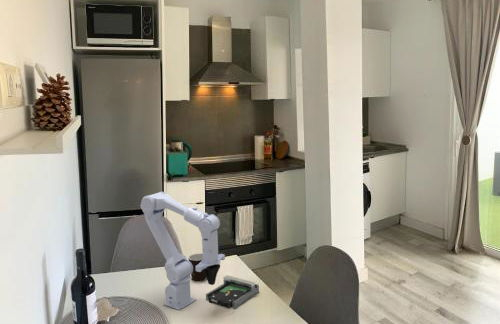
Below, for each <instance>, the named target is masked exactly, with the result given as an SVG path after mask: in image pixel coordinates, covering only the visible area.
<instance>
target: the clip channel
mask: <svg viewBox="0 0 500 324" xmlns="http://www.w3.org/2000/svg"><path fill="white" fill-rule="evenodd" d="M222 279H223V284H221V285H219V286H216V288H214V289H212V290H210V291H209V292H207V293H206V294H205V300H206V301H209V297H210V296H211V295H213V294H214V293H216V292H218V291H219V290H221V289H223V288H224V287H226V286H228V285H230V284H233V285H237V286H243V287H246V288H249V290H250V291H249V292H247V293H245V294H244V295H242V296H241V297H239V298H238V299H236V300H235V301H233V302H232V304H233V307H232V309H234V310H236V309H237V308H238V307H240V306H241V305H243V304H244V303H246V302H247V301H248V300H250V299H252V298H253V297H254V296H256V295H257V294H259V293H260V286H259V284H257V283H255V282H254V281H252V280H247V279H243V278H239V277H235V276H231V275H227V274H226V275H225V276H223V278H222Z"/></svg>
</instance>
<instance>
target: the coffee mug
mask: <svg viewBox="0 0 500 324" xmlns="http://www.w3.org/2000/svg"><path fill="white" fill-rule="evenodd" d="M187 260H188V261H190V262H191V264H192V266H193V272H192V274H190V278H191V280H192V281H193V282H204V281H205V280H207V278H206V275H205V273H204V271H203V270H202V271H201V272H197V271H196V265H198V264H199V263H200V262H201V261H202V260H203V253H194V254H190V255H189V256H188V257H187Z"/></svg>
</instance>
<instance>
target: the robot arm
mask: <svg viewBox="0 0 500 324" xmlns="http://www.w3.org/2000/svg"><path fill="white" fill-rule="evenodd" d="M139 207H140V208H141V210H142V212H143V214H144V219H145V222H146V224H147V227H148V228H149V230H150V232H151V233H152V236H153V238H154V239H155V241H156V243H157V245H158V248H159V249H160V251H161V253H162V255H163V256H164V258H165V261H166V262H165V264H164V270H165V273H166V278H167V280H168V282H169V284H168V285H166V286H165V289H164V293H165V294H164V295H165V303H164V306H166V307H169V308H172V309H175V310H178V311H179V310H182V309H184V308H185V307H186V306H188V305H190V304H192V303H194V302H195V301H196V298H193V297H191V274H192V272H193V266H192V264H191V262H190V261H189V259H188V257H186V255H185V254H181V253H180V252H179V250H178V248H177V247H176V245H175V244H176V243H174V240H173V239H172V237H171V235H170V233H169V231H168V229H167V227H166V224H165V223H164V221H163V219H162V215H163V214H164V211H165V210H169V211H172V212H174V213H176V214H178V215H180V216H183V219H184V221H185V222H188V223H189V224H191V225H193V226H195V227H197V229H198V231H199V232H200V237H201V243H202V245H201V247H202V254H203V260H202V261H201V262H200V263H199V264H198V265H196V271H197V272H201V271H202V270H203V271H204V273H205V275H206V280H207V283H208V285H210V286H213V285H215V284H216V280H217V276H218V273H219V270H220V268H221V261H225V260H226V254H223V253H219V243H218V242H219V236H218V229H219V228H220V226H221V220H220V218H219V217H218V216H217V215H216V214H213V213H211V214H208V213H207V212H204V211H201V210H200V209H198V207H196V206H189V207H187V206H186V205H184V204H182V203H180V202H179V201H178V200H175V199H174V198H173V197H171V195H170V194H169V193H165V192H164V191H159V192H156V193H153V194H148V195H145V196H143V197H142V199H141V202H140V206H139Z"/></svg>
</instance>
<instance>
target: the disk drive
mask: <svg viewBox="0 0 500 324" xmlns="http://www.w3.org/2000/svg"><path fill="white" fill-rule="evenodd" d="M249 291H250V290H249V288H246V287H243V286H237V285H233V284H230V285H228V286H226V287H224V288H223V289H221V290H219V291H218V292H216V293H214V294H213V295H211V296H210V297H209V300H208V303H210V304H214V305H217V306H221V307H223V308H226V309H231V308H233V304H232V302H233V301H235V300H236V299H238V298H239V297H241V296H242V295H244V294H245V293H247V292H249Z"/></svg>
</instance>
